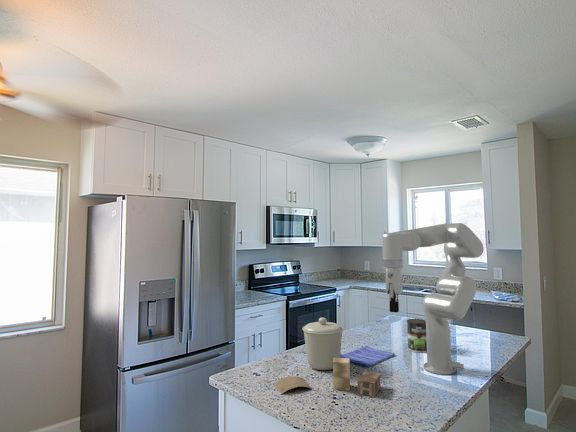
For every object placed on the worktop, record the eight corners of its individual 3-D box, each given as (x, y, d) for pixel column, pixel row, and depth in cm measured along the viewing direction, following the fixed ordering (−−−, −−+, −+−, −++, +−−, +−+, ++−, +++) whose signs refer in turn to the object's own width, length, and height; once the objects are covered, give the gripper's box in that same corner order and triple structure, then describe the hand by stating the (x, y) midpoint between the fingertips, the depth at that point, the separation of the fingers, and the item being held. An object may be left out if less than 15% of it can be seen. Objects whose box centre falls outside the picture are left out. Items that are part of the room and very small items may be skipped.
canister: (294, 366, 158) (293, 317, 159) (321, 356, 171) (320, 311, 172) (326, 377, 145) (325, 324, 147) (352, 366, 158) (351, 317, 159)
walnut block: (374, 397, 127) (380, 387, 136) (374, 383, 127) (380, 373, 136) (357, 394, 130) (364, 384, 138) (357, 380, 130) (364, 371, 139)
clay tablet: (305, 380, 144) (305, 373, 144) (316, 390, 135) (315, 383, 135) (270, 386, 139) (270, 379, 139) (279, 397, 130) (279, 389, 130)
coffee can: (431, 353, 173) (430, 323, 174) (408, 352, 176) (407, 322, 177) (428, 347, 183) (427, 318, 184) (406, 345, 186) (405, 318, 187)
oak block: (350, 385, 138) (349, 358, 138) (349, 390, 133) (349, 362, 133) (334, 384, 139) (333, 357, 139) (333, 389, 134) (332, 362, 135)
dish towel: (335, 360, 167) (335, 354, 167) (364, 349, 183) (364, 343, 184) (367, 370, 155) (366, 363, 155) (395, 356, 171) (395, 350, 171)
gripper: (399, 266, 133) (401, 316, 132) (405, 263, 147) (407, 309, 145) (379, 265, 136) (380, 314, 135) (386, 262, 150) (388, 307, 149)
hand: (394, 311), depth 140 cm, fingers closed
